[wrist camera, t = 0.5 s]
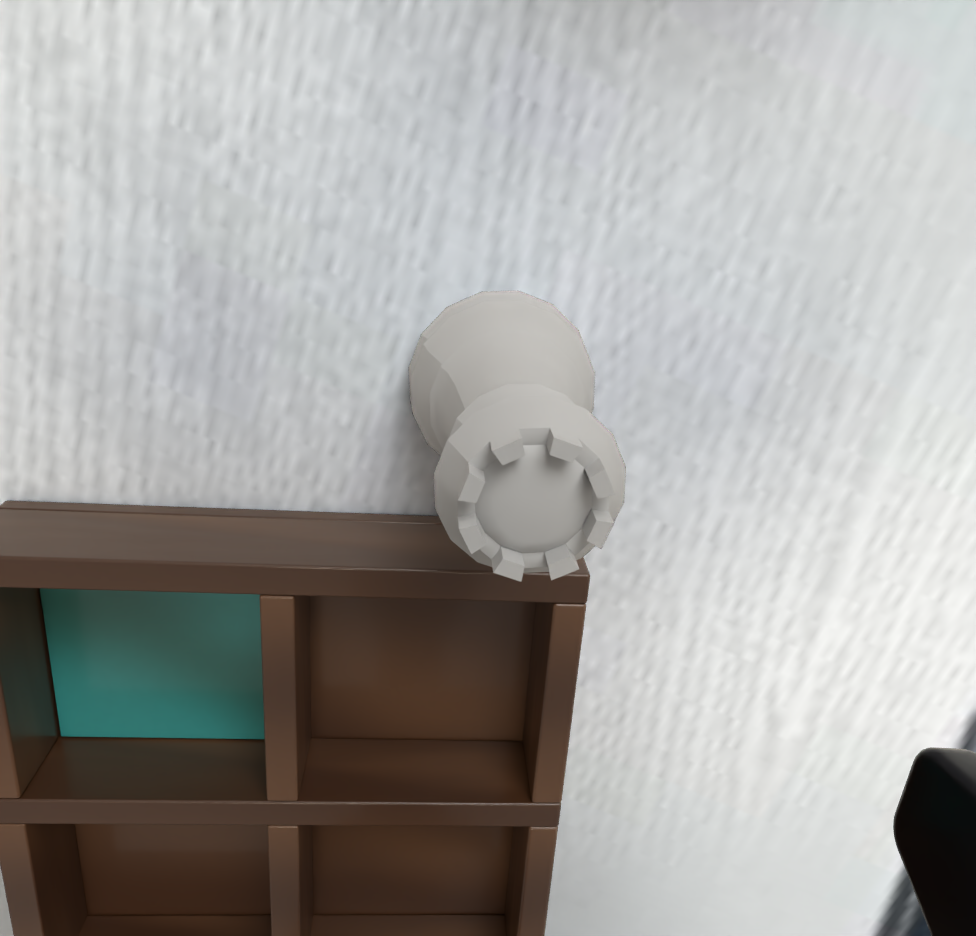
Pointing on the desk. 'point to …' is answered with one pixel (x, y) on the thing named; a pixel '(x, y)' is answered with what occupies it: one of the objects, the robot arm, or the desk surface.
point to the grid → (276, 725)
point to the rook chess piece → (515, 434)
